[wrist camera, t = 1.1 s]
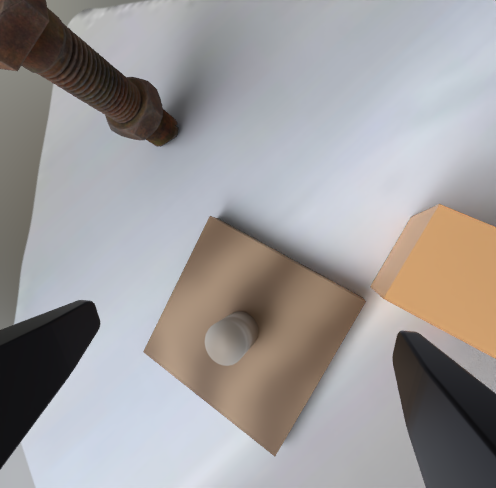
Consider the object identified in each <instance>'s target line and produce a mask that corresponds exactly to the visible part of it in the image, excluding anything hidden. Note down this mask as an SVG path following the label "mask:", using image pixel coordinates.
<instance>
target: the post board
mask: <svg viewBox="0 0 496 488" xmlns="http://www.w3.org/2000/svg"><path fill="white" fill-rule="evenodd" d="M365 302H366V301H365V300H364V298H362V297H360V296H359V295H357V294H355V293H353V292H351V291H349V290H348V289H346V288H344V287H342V286H340V285H339V284H337V283H335V282H333V281H331V280H329V279H328V278H326V277H324V276H322V275H320V274H318V273H317V272H315V271H313V270H311V269H309V268H307V267H306V266H304V265H302V264H300V263H298V262H296V261H295V260H293V259H291V258H289V257H287V256H285V255H284V254H282V253H280V252H278V251H276V250H274V249H273V248H271V247H269V246H267V245H265V244H263V243H262V242H260V241H258V240H256V239H254V238H252V237H251V236H249V235H247V234H245V233H243V232H241V231H240V230H238V229H236V228H234V227H232V226H230V225H229V224H227V223H225V222H223V221H221V220H220V219H218V218H215V217H212V216H210V217H209V219H208V221H207V223H206V225H205V227H204V229H203V231H202V233H201V235H200V237H199V239H198V241H197V243H196V245H195V248H194V250H193V252H192V254H191V256H190V258H189V260H188V262H187V264H186V266H185V268H184V270H183V272H182V274H181V276H180V278H179V280H178V282H177V284H176V286H175V288H174V290H173V292H172V294H171V296H170V298H169V301H168V303H167V305H166V307H165V309H164V311H163V313H162V315H161V317H160V319H159V321H158V323H157V325H156V327H155V329H154V331H153V333H152V335H151V337H150V339H149V341H148V343H147V345H146V347H145V349H144V353H145V354H147V355H148V356H149V357H150V358H152V359H153V360H154V361H155V362H157V363H158V364H159V365H160V366H162V367H163V368H164V369H165V370H167V371H168V372H169V373H170V374H172V375H173V376H174V377H175V378H177V379H178V380H179V381H180V382H182V383H183V384H184V385H186V386H187V387H188V388H189V389H191V390H192V391H193V392H194V393H196V394H197V395H198V396H199V397H201V398H202V399H203V400H204V401H206V402H207V403H208V404H209V405H211V406H212V407H213V408H214V409H216V410H217V411H218V412H220V413H221V414H222V415H223V416H225V417H226V418H227V419H228V420H230V421H231V422H232V423H233V424H235V425H236V426H237V427H238V428H240V429H241V430H242V431H243V432H245V433H246V434H247V435H248V436H250V437H251V438H252V439H254V440H255V441H256V442H257V443H259V444H260V445H261V446H262V447H264V448H265V449H266V450H267V451H269V452H270V453H271V454H272V455H274V456H276V454H277V452H278V450H279V449H280V447H281V445H282V444H283V442H284V440H285V439H286V437H287V435H288V433H289V432H290V430H291V428H292V427H293V425H294V423H295V422H296V420H297V418H298V416H299V415H300V413H301V411H302V410H303V408H304V406H305V405H306V403H307V401H308V399H309V398H310V396H311V394H312V393H313V391H314V389H315V387H316V386H317V384H318V382H319V381H320V379H321V377H322V376H323V374H324V372H325V370H326V369H327V367H328V365H329V364H330V362H331V360H332V359H333V357H334V355H335V353H336V352H337V350H338V348H339V347H340V345H341V343H342V341H343V340H344V338H345V336H346V335H347V333H348V331H349V330H350V328H351V326H352V324H353V323H354V321H355V319H356V318H357V316H358V314H359V313H360V311H361V309H362V307H363V306H364V304H365Z"/></svg>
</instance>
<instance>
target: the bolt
mask: <svg viewBox="0 0 496 488" xmlns="http://www.w3.org/2000/svg"><path fill="white" fill-rule="evenodd" d="M20 66H23V67H24V68H26V69H28V70H29V71H31V72H34V73H37V74H39V75H41V76H42V77H44V78H46V79H47V80H49V81H51V82H52V83H54V84H56V85H57V86H58V87H61V88H62V89H64V90H65V91H67V92H68V93H70V94H72V95H73V96H75V97H77V98H78V99H80V100H81V101H83V102H85V103H87V104H88V105H90V106H91V107H93V108H95V109H97V110H98V111H100V112H102V113H103V114H105V116H106V119H107V122H108V124H109V127H110V129H111V130H112V131H113V132H115V133H117V134H119V135H121V136H124V137H127V138H131V139H135V140H145V139H146V140H148V141H149V142H151V143H152V144H154V145H155V146H162V145H164V144H165V143H167V142H169V141H170V140H172V139H173V138H175V137H176V136H177V134H178V127H177V126H176V125H177V121H176V120H175V119H174V118H173V117H172V116H171V115H169V114H168V113H167V112H166V111H165V110H164V109H163V108H162V103H161V99H160V96H159V94H158V91H157V89H156V88H155V87H154V86H153V85H152V84H151V83H150V82H148V81H146V80H143V79H139V78H134V77H127V78H126V77H125V76H124V75H123V74H122V73H120V72H119V71H118V70H117V69H116V68H114V67H113V66H112V65H111V64H110V63H109V62H107V61H106V60H105V59H104V58H103V57H102V56H100V55H99V54H98V53H97V52H95V51H94V49H92V48H91V47H90V46H89V45H87V44H86V43H85V42H84V41H83V40H82V39H81V38H80V37H78V36H77V35H76V34H74V33H73V32H72V31H71V30H70V29H69V28H67V26H65V25H64V24H63V23H62V22H61V20H60V19H59V17H57V16H56V15H55V14H54V13H53V12H52V11H51V10H49V9H48V8H47V5H46V0H0V69H5V70H13V71H18V70H19V68H20Z"/></svg>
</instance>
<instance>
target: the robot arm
mask: <svg viewBox="0 0 496 488" xmlns="http://www.w3.org/2000/svg"><path fill="white" fill-rule="evenodd" d="M99 327H100V319H99V316H98V313H97V310H96V306H95V304H94V303H93V302H92V301H87V300H78V301H75V302H73V303H70V304H67V305H65V306H62V307H59V308H57V309H54V310H52V311H49V312H46V313H44V314H41V315H38V316H36V317H33V318H30V319H28V320H25V321H23V322H20V323H17V324H15V325H12V326H9V327H7V328H4V329H2V330H0V469H1V468H2V467H3V465H4V464H5V463H6V461H7V460H8V458H9V457H10V456H11V454H12V453H13V452H14V450H15V449H16V447H17V446H18V445H19V444H20V442H21V441H22V440H23V438H24V437H25V436H26V434H27V433H28V431H29V430H30V429H31V427H32V426H33V425H34V423H35V422H36V421H37V419H38V418H39V417H40V415H41V414H42V413H43V411H44V410H45V408H46V407H47V406H48V404H49V403H50V402H51V400H52V399H53V398H54V396H55V395H56V394H57V392H58V391H59V390H60V388H61V387H62V385H63V384H64V383H65V381H66V380H67V379H68V377H69V376H70V374H71V373H72V371H73V370H74V368H75V367H76V365H77V364H78V362H79V360H80V359H81V357H82V356H83V354H84V352H85V351H86V349H87V348H88V346H89V344H90V343H91V341H92V339H93V338H94V336H95V335H96V333H97V331H98V330H99ZM393 366H394V371H395V376H396V380H397V385H398V390H399V394H400V399H401V404H402V409H403V413H404V418H405V422H406V426H407V430H408V433H409V437H410V440H411V443H412V446H413V449H414V452H415V455H416V458H417V461H418V464H419V467H420V471H421V474H422V477H423V480H424V483H425V486H426V488H496V393H494V392H493V391H492V390H490V389H489V388H488V387H487V386H485V385H484V384H483V383H482V382H480V381H479V380H478V379H476V378H475V377H474V376H473V375H471V374H470V373H469V372H468V371H466V370H465V369H464V368H462V367H461V366H460V365H459V364H457V363H456V362H455V361H454V360H452V359H451V358H450V357H448V356H447V355H446V354H445V353H443V352H442V351H441V350H440V349H438V348H437V347H436V346H435V345H433V344H432V343H431V342H429V341H428V340H427V339H426V338H424V337H423V336H422V335H421V334H419V333H417V332H411V331H400V332H399V333H398V335H397V339H396V343H395V347H394V352H393Z"/></svg>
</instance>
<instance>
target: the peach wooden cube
mask: <svg viewBox="0 0 496 488" xmlns="http://www.w3.org/2000/svg"><path fill="white" fill-rule="evenodd" d="M370 287H371V288H372V289H373V290H374V291H375V292H376V293H378V294H379V295H380V296H381V297H382V298H383V299H385V300H387V301H389V302H391V303H392V304H394V305H396V306H398V307H400V308H402V309H404V310H405V311H407V312H409V313H411V314H413V315H415V316H417V317H419V318H420V319H422V320H424V321H426V322H428V323H430V324H432V325H434V326H435V327H437V328H439V329H441V330H443V331H445V332H447V333H448V334H450V335H452V336H454V337H456V338H458V339H460V340H462V341H463V342H465V343H467V344H469V345H471V346H473V347H475V348H476V349H478V350H480V351H482V352H484V353H486V354H488V355H490V356H491V357H493V358H495V359H496V227H494V226H492V225H489V224H487V223H485V222H482V221H480V220H477V219H475V218H472V217H470V216H468V215H465V214H463V213H460V212H458V211H455V210H453V209H450V208H448V207H446V206H443V205H441V204H438V205H436V206H434V207H432V208H430V209H427V210H425V211H423V212H421V213H419V214H416V215H414V216H412V217H411V218H410V220H409V221H408V223H407V225H406V227H405V228H404V230H403V232H402V233H401V235H400V237H399V239H398V240H397V242H396V244H395V245H394V247H393V249H392V250H391V252H390V254H389V256H388V257H387V259H386V261H385V262H384V264H383V266H382V268H381V269H380V271H379V273H378V274H377V276H376V278H375V280H374V281H373V283H372V285H371V286H370Z"/></svg>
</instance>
